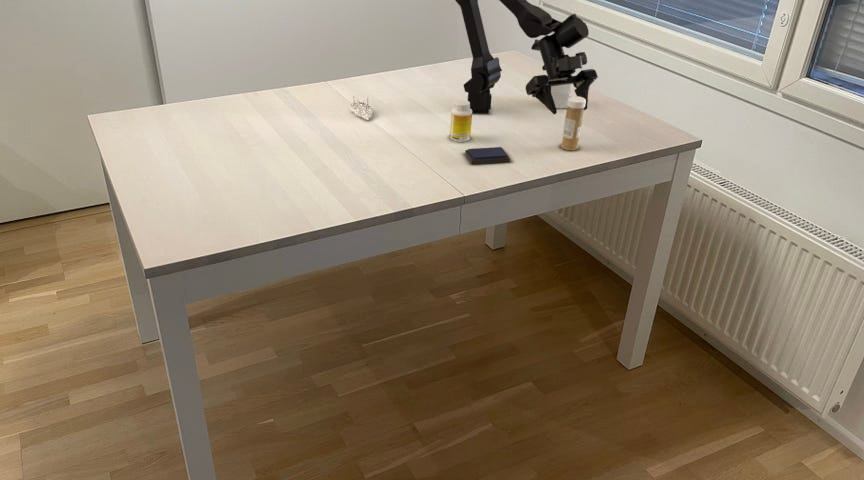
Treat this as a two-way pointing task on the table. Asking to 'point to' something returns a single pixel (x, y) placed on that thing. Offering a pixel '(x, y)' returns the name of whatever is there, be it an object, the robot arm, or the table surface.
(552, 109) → the robot arm
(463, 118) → the supplement bottle
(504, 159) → the ink pad
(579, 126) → the sprinkles bottle
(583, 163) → the table surface
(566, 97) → the small box
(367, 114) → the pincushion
